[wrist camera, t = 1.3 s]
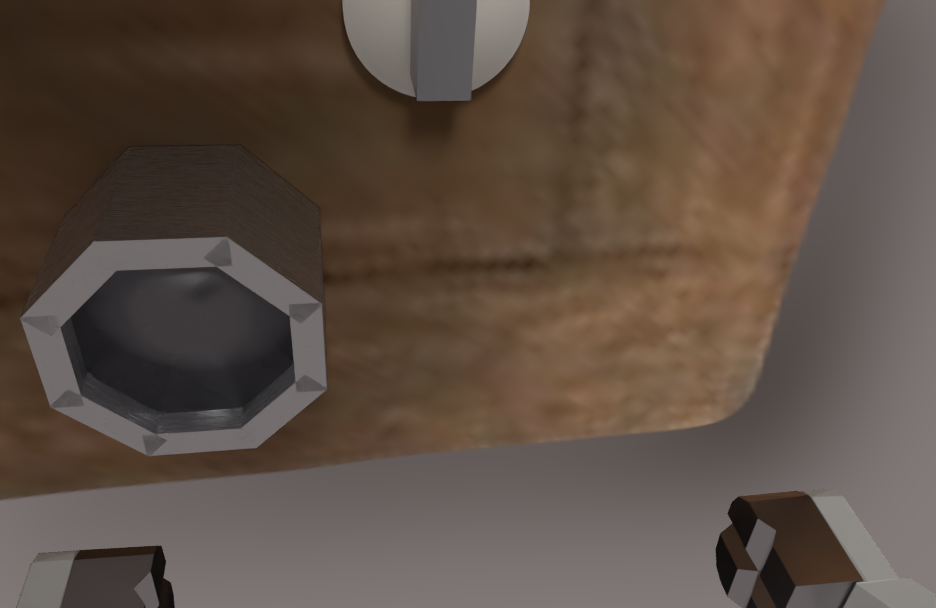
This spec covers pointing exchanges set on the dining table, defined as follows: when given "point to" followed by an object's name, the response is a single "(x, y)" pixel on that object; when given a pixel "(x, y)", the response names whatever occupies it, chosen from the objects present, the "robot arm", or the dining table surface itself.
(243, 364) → the grey octagonal pot
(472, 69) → the cap
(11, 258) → the dining table surface
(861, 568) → the robot arm
